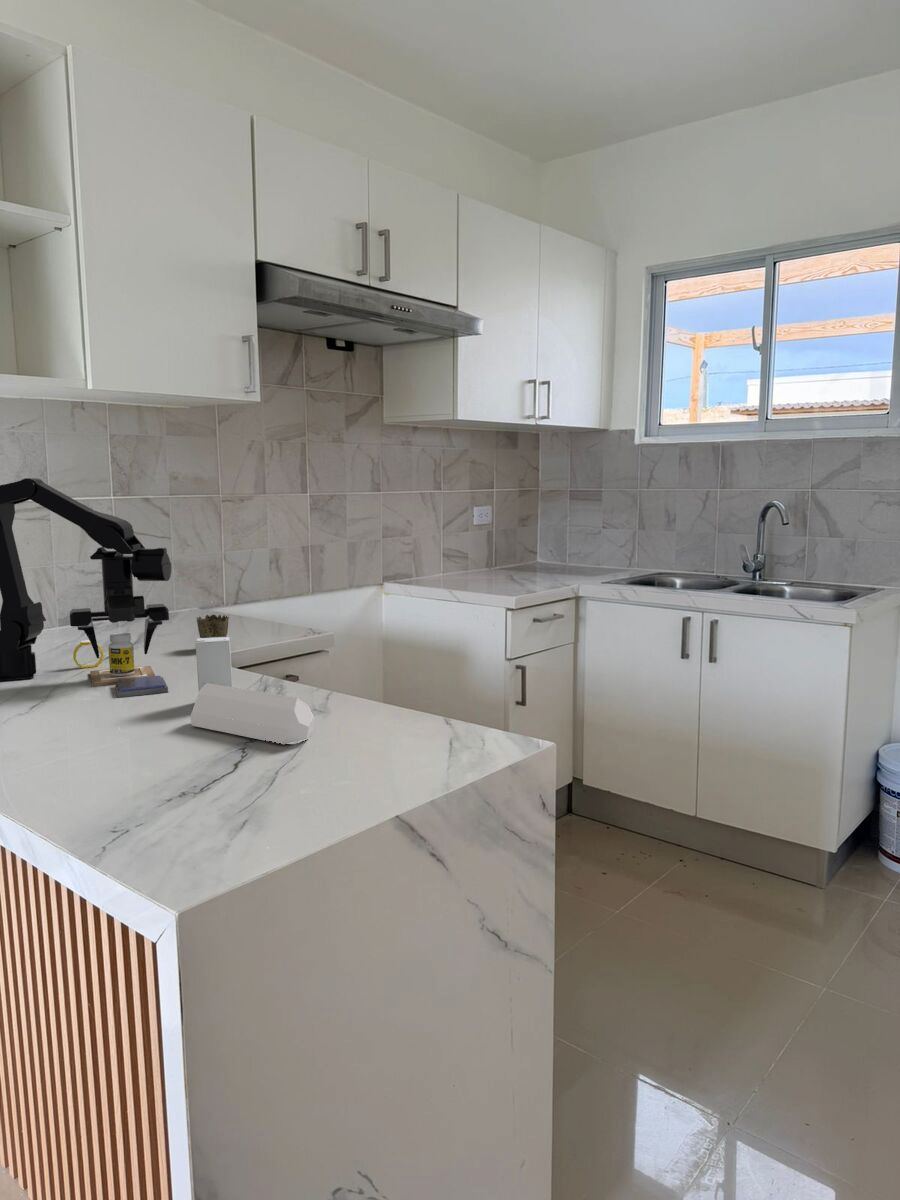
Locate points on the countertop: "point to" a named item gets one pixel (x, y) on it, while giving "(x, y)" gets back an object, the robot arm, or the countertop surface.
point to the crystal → (252, 714)
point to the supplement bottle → (121, 655)
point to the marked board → (106, 679)
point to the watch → (87, 642)
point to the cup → (213, 626)
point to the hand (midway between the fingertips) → (122, 656)
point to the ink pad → (140, 686)
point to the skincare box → (214, 661)
